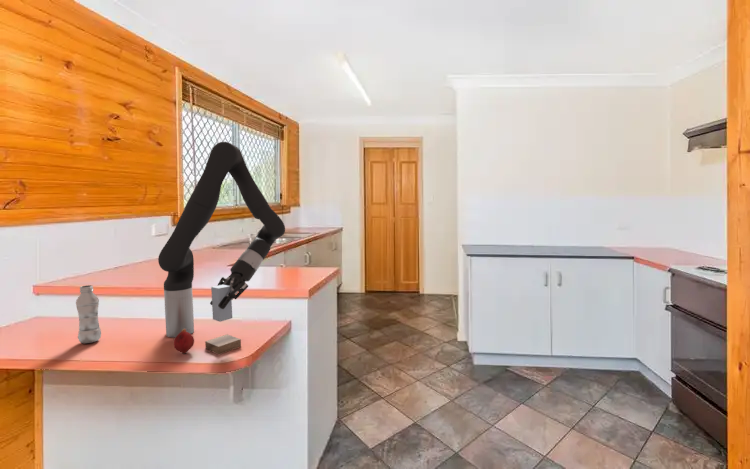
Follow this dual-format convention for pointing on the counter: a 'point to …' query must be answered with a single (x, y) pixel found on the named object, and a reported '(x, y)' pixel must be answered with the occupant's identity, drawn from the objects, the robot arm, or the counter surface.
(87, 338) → the plastic bottle
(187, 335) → the onion
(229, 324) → the counter surface
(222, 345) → the base slab
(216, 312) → the pillar
